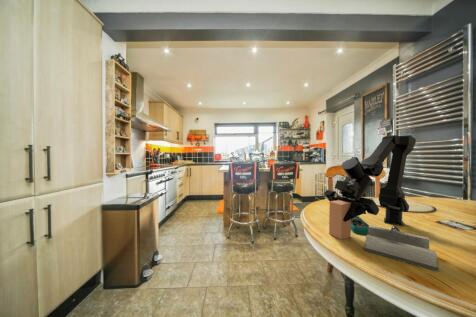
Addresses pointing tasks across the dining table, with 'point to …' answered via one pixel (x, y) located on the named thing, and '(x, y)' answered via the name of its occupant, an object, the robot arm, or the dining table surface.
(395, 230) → the bench vise
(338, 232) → the terracotta block
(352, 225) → the digital multimeter
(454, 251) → the dining table surface
